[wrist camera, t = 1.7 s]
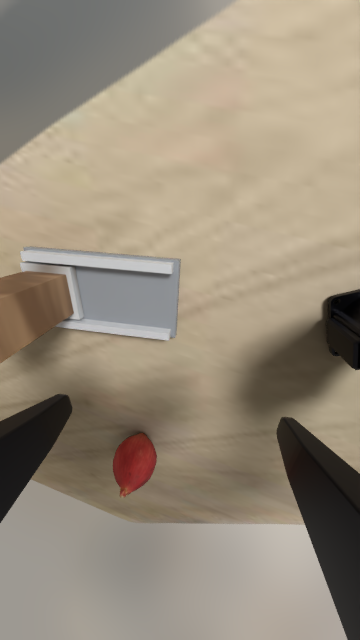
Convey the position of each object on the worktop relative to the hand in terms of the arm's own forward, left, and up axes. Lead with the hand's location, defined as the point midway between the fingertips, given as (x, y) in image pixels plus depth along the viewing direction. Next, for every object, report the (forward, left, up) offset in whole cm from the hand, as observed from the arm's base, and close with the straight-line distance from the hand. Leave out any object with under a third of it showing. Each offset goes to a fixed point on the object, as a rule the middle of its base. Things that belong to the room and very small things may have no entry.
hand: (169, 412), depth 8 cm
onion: (+14, +19, -13) cm, 27 cm away
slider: (+8, -3, -13) cm, 16 cm away
